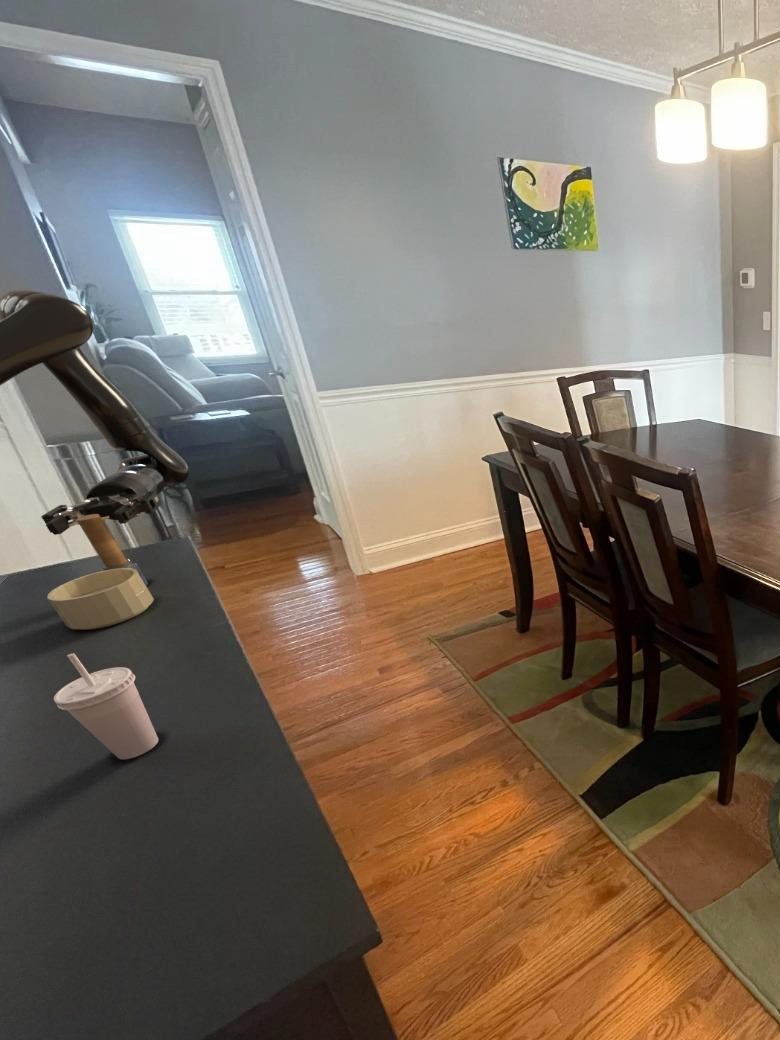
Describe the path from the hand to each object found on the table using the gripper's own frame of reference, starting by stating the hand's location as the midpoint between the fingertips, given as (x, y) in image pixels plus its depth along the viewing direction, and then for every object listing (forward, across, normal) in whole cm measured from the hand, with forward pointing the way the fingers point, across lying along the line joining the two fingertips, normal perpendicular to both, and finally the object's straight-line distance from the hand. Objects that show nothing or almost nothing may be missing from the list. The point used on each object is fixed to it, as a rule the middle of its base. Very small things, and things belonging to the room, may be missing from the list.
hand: (87, 523), depth 101 cm
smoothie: (+53, +17, +13) cm, 57 cm away
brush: (-1, 0, +13) cm, 13 cm away
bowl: (+10, +1, +13) cm, 16 cm away
